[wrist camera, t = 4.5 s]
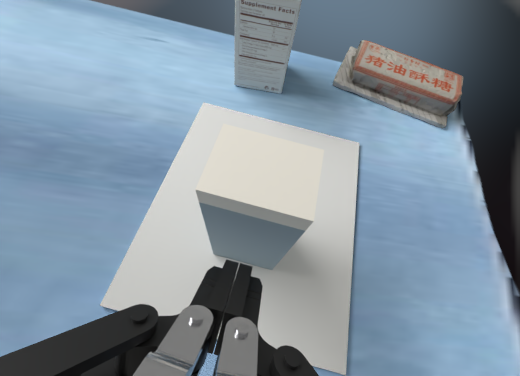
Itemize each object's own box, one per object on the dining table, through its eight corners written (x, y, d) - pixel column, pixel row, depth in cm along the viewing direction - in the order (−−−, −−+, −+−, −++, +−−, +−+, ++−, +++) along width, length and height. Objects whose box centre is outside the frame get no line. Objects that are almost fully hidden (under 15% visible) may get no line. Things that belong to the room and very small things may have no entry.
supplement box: (241, 56, 40) (245, -45, 29) (286, 64, 40) (307, -33, 29) (232, 86, 36) (233, -15, 25) (281, 95, 37) (303, -2, 25)
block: (213, 254, 24) (195, 189, 12) (227, 213, 26) (223, 123, 14) (271, 270, 24) (313, 221, 12) (280, 228, 26) (324, 149, 14)
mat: (101, 305, 22) (99, 305, 21) (203, 104, 34) (203, 102, 34) (343, 374, 21) (345, 375, 21) (357, 144, 34) (359, 143, 33)
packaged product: (470, 66, 37) (467, 108, 33) (445, 92, 42) (440, 131, 37) (358, 26, 40) (341, 59, 35) (346, 54, 44) (329, 87, 39)
